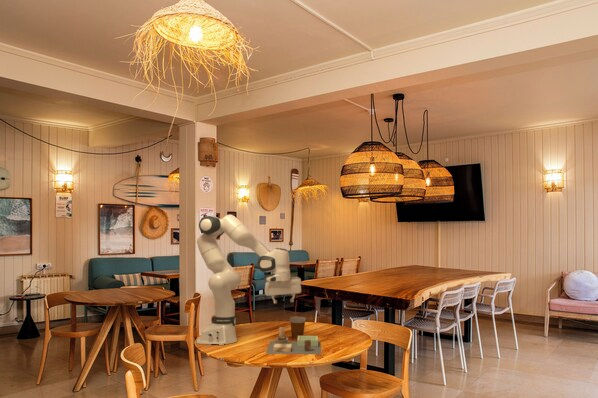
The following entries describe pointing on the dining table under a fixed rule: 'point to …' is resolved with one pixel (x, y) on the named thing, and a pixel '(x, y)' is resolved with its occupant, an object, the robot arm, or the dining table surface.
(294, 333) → the disposable coffee cup
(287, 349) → the beech plate
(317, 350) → the bench mat
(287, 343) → the dowel socket
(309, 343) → the bench dog
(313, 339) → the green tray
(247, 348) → the dining table surface
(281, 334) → the oak dowel
